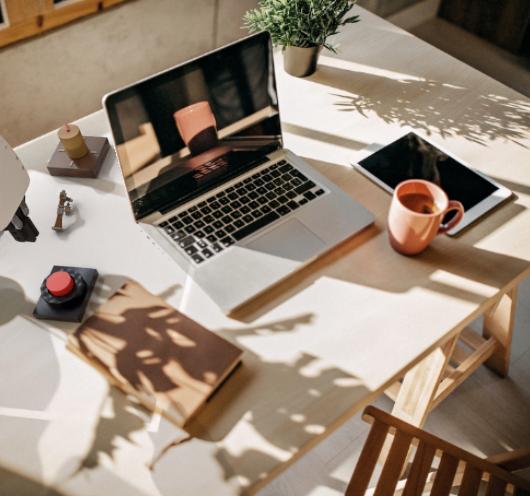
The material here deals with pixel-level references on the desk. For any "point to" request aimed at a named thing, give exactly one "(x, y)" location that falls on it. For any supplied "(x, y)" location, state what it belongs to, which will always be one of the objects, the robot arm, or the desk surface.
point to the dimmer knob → (72, 141)
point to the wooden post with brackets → (62, 210)
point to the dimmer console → (80, 159)
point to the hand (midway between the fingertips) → (27, 237)
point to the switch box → (67, 296)
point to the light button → (60, 283)
